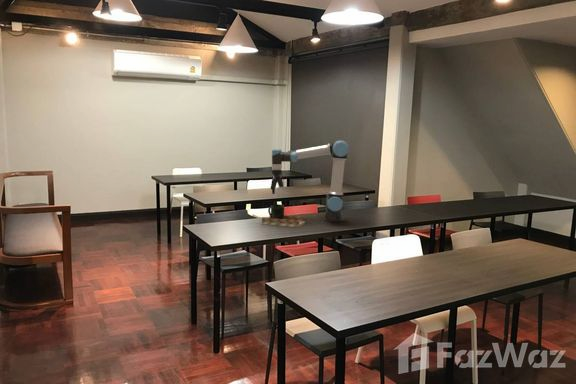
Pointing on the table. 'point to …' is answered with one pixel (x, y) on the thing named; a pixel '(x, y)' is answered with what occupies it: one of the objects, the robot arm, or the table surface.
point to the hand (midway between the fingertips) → (277, 196)
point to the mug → (277, 211)
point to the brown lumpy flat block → (285, 221)
